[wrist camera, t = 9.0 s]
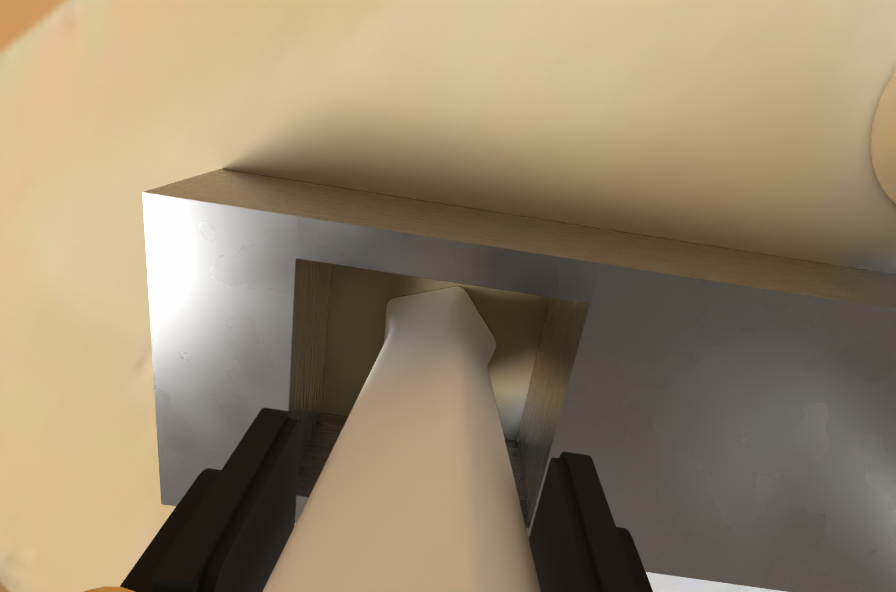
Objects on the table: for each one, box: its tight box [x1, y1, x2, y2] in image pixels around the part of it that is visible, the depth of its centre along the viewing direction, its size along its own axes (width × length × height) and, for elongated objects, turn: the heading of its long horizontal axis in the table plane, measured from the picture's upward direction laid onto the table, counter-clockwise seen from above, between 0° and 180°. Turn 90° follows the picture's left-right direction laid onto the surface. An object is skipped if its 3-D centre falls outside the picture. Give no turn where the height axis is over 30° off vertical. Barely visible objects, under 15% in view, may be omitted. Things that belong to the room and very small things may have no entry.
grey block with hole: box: [142, 169, 896, 592], centre depth 15 cm, size 22×9×4 cm, turn 81°
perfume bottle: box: [263, 286, 541, 592], centre depth 10 cm, size 5×4×15 cm
